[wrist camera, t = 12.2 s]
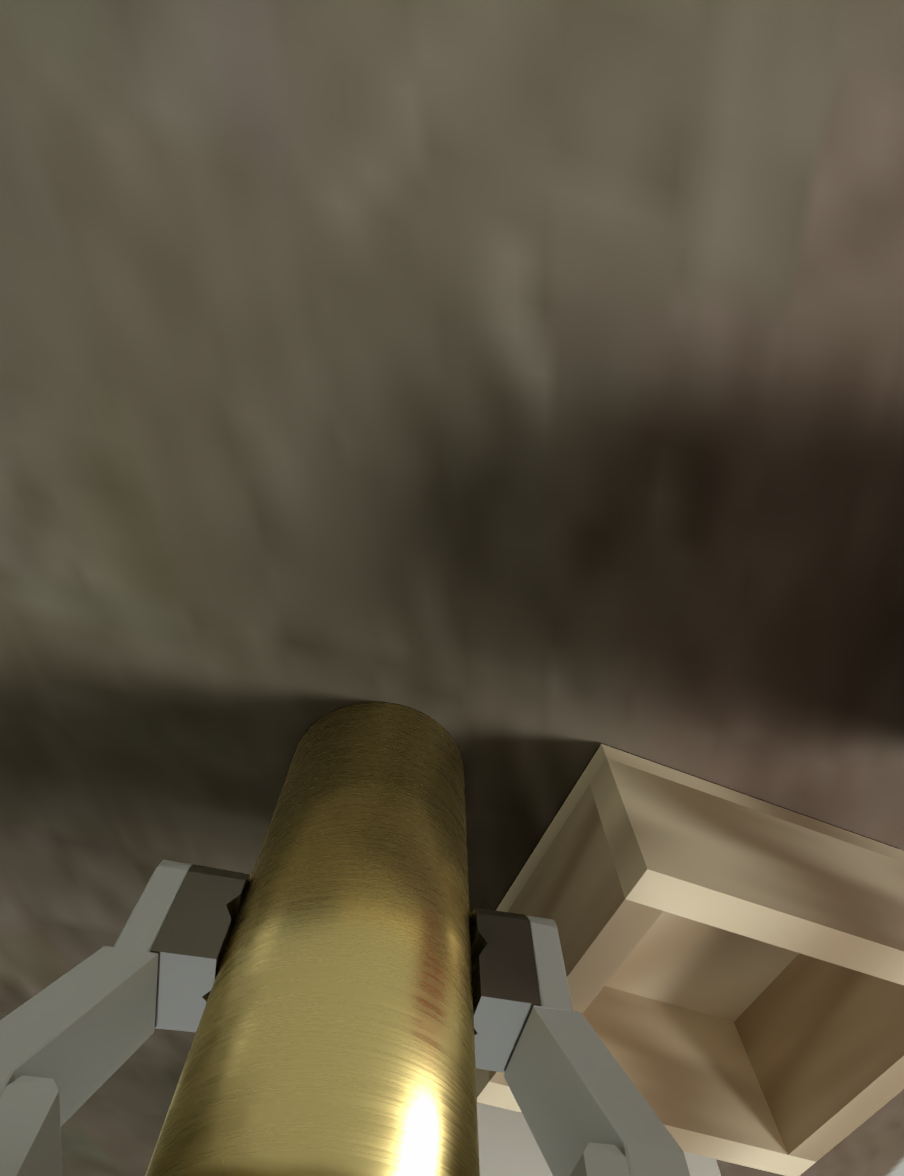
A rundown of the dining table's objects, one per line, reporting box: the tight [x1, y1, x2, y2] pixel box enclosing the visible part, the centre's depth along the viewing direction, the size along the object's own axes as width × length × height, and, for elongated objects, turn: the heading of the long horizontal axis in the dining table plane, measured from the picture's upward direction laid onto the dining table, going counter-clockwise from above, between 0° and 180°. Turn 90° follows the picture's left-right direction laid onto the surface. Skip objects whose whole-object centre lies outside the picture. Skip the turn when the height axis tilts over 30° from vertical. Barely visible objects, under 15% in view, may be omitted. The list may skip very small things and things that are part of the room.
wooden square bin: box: [476, 744, 904, 1176], centre depth 14 cm, size 9×8×4 cm
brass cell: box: [145, 702, 480, 1176], centre depth 10 cm, size 4×4×9 cm
